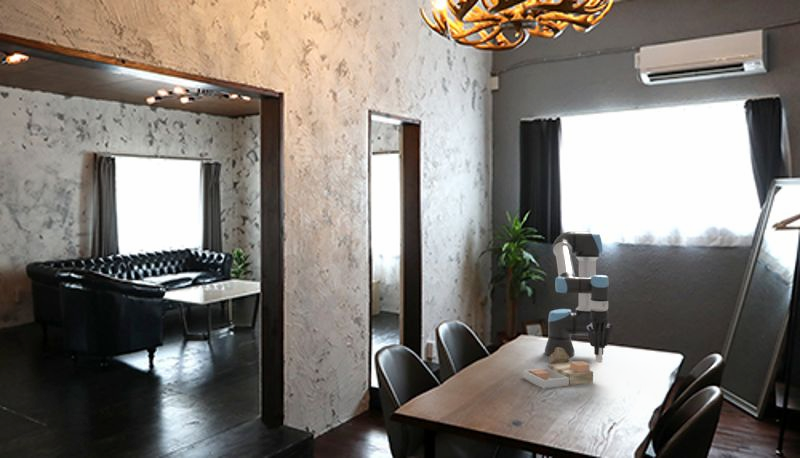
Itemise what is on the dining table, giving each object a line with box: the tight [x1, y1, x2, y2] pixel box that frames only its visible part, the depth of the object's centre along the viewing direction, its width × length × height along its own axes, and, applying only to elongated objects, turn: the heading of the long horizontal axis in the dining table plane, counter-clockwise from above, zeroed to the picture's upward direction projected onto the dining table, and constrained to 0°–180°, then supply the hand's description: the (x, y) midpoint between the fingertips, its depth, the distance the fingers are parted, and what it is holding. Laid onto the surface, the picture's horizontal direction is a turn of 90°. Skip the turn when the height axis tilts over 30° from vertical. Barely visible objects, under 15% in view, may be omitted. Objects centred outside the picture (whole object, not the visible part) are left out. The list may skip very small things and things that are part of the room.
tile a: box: [529, 368, 549, 380], centre depth 259 cm, size 6×6×3 cm
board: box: [548, 361, 594, 386], centre depth 260 cm, size 16×12×5 cm
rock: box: [548, 347, 570, 366], centre depth 275 cm, size 11×12×10 cm
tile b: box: [569, 360, 591, 372], centre depth 256 cm, size 6×6×3 cm
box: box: [522, 367, 570, 390], centre depth 255 cm, size 16×13×4 cm
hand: (598, 361), depth 259 cm, fingers closed
